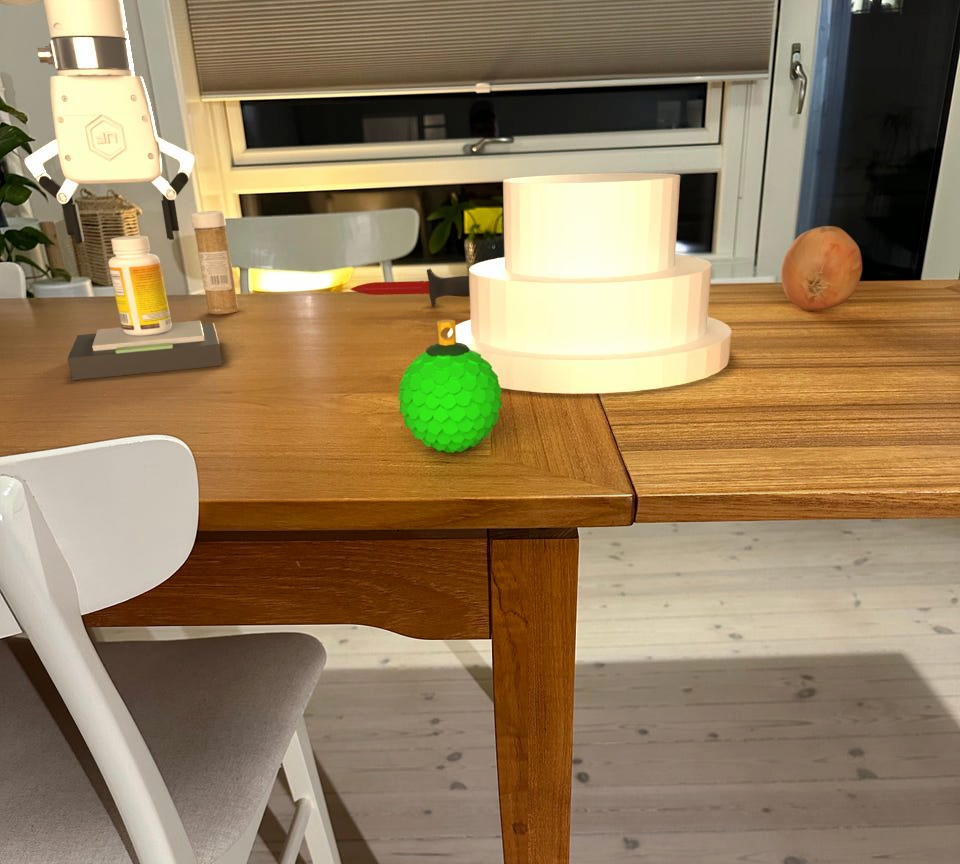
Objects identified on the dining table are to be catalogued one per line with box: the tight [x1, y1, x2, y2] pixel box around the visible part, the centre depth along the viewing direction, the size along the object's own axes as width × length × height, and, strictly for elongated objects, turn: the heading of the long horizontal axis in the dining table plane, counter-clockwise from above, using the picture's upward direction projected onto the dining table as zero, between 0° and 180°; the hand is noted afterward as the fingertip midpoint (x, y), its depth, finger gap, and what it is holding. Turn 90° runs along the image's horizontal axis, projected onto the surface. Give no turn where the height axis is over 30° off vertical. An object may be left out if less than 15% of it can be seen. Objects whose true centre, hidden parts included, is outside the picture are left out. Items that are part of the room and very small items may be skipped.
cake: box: [447, 172, 732, 395], centre depth 99 cm, size 30×30×18 cm
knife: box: [349, 268, 470, 307], centre depth 136 cm, size 24×2×5 cm, turn 84°
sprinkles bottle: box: [190, 210, 240, 315], centre depth 136 cm, size 5×5×14 cm
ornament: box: [397, 319, 503, 453], centre depth 74 cm, size 8×8×10 cm
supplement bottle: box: [107, 235, 173, 336], centre depth 108 cm, size 6×6×10 cm
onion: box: [780, 225, 863, 312], centre depth 121 cm, size 10×10×10 cm
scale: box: [67, 320, 224, 381], centre depth 111 cm, size 16×14×3 cm
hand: (126, 240), depth 106 cm, fingers open, 9 cm apart
